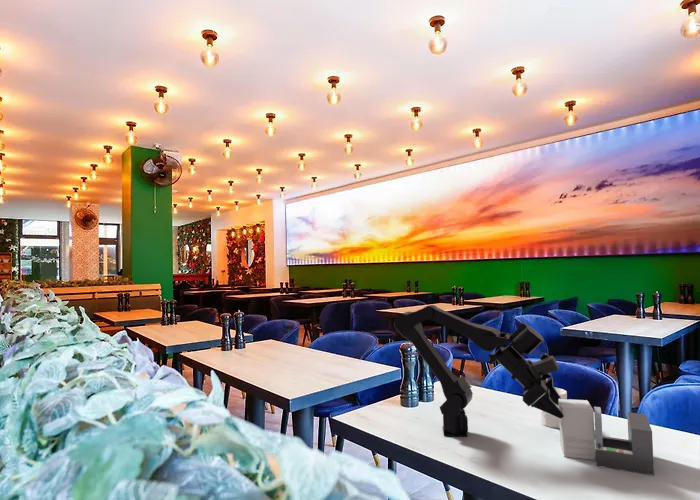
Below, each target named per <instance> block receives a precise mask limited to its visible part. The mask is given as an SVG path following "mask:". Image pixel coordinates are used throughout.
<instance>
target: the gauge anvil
mask: <svg viewBox="0 0 700 500" xmlns="http://www.w3.org/2000/svg"><path fill="white" fill-rule="evenodd" d="M626 415H627V416H626V417H627V434H628V435H627V437H628V439H624V438H619V437H611V436H604V435H602V440H603V447H601V446H600V447H601V448H598V446H596V441H595V456H596V460H595V465H596V467H600V468H601V467H602V468H606V469H613V470H618V471H623V472H629V473H638V474H643V475H650V476H655V468H654V446H653V444H654V443H653V430H652V427H651V424H650V422H649V419H648V416H647V414H645V413H636V412H627V413H626Z"/></svg>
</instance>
